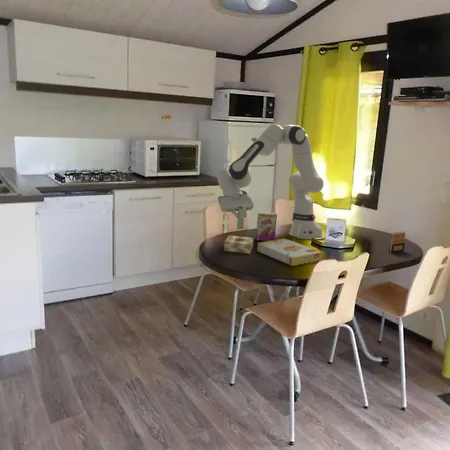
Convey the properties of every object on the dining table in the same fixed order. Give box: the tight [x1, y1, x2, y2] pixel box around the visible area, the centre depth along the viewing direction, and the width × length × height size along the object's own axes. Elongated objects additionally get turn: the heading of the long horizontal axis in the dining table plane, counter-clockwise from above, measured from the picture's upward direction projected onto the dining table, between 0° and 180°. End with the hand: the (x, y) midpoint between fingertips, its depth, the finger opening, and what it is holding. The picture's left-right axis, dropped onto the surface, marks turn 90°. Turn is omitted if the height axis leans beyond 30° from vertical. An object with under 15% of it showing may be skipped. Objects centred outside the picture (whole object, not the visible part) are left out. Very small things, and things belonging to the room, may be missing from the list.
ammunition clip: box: [388, 231, 406, 254], centre depth 255 cm, size 11×2×12 cm, turn 120°
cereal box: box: [257, 237, 322, 267], centre depth 235 cm, size 20×6×28 cm
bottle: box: [236, 206, 245, 230], centre depth 239 cm, size 4×4×12 cm
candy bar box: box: [255, 211, 278, 242], centre depth 261 cm, size 11×5×16 cm, turn 84°
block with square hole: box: [223, 235, 255, 254], centre depth 243 cm, size 14×14×5 cm
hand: (241, 216), depth 239 cm, fingers closed on bottle, 3 cm apart
